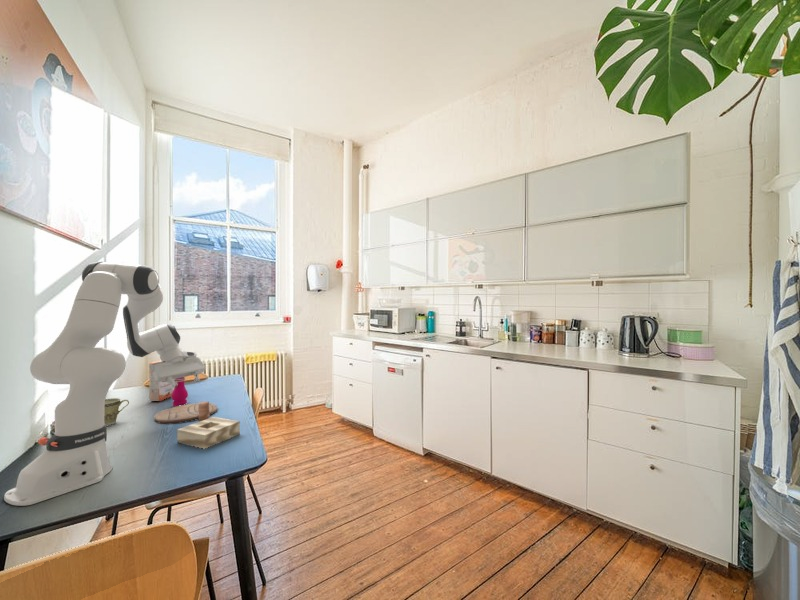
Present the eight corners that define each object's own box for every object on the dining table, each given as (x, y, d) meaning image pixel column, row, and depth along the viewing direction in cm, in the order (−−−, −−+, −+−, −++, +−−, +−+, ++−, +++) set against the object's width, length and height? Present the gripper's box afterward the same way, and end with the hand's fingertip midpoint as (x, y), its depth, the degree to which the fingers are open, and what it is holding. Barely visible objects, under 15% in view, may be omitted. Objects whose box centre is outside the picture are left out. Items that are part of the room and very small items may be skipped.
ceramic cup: (90, 430, 144) (90, 406, 144) (90, 424, 151) (90, 401, 151) (130, 422, 152) (129, 399, 152) (128, 417, 160) (128, 395, 160)
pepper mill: (168, 405, 177) (167, 366, 177) (183, 401, 183) (182, 364, 183) (176, 407, 174) (176, 367, 174) (191, 403, 180) (190, 365, 180)
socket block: (204, 449, 123) (204, 435, 123) (177, 442, 129) (177, 429, 129) (239, 434, 136) (239, 421, 136) (213, 428, 142) (213, 416, 142)
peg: (203, 428, 143) (202, 404, 143) (196, 427, 145) (196, 403, 145) (211, 425, 147) (211, 401, 147) (205, 424, 148) (205, 400, 148)
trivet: (156, 428, 145) (156, 424, 145) (152, 414, 164) (152, 410, 164) (222, 415, 160) (222, 411, 160) (211, 403, 180) (211, 400, 180)
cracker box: (160, 402, 183) (159, 362, 183) (148, 402, 183) (148, 363, 183) (177, 394, 197) (176, 358, 197) (167, 395, 197) (166, 358, 197)
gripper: (150, 359, 146) (163, 384, 142) (199, 351, 164) (212, 374, 159) (145, 368, 149) (158, 394, 144) (193, 360, 166) (206, 382, 162)
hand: (186, 383), depth 152 cm, fingers open, 8 cm apart
